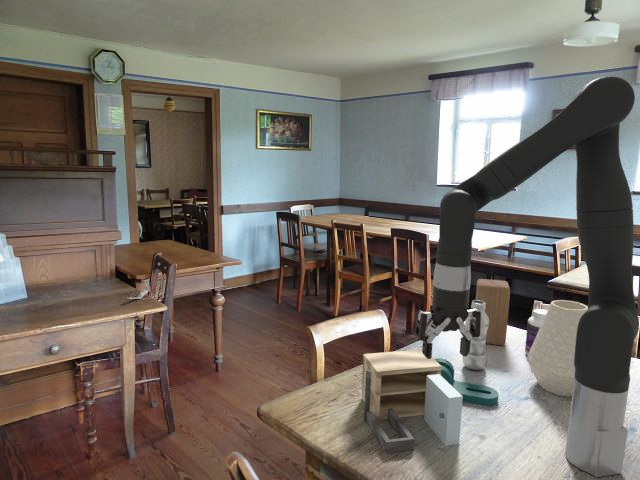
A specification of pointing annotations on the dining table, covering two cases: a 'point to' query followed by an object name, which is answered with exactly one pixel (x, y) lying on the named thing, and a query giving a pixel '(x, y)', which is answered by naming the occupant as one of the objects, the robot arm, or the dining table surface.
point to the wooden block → (495, 308)
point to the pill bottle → (534, 327)
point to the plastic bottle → (477, 340)
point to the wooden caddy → (395, 392)
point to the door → (443, 409)
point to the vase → (556, 347)
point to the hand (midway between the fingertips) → (445, 356)
